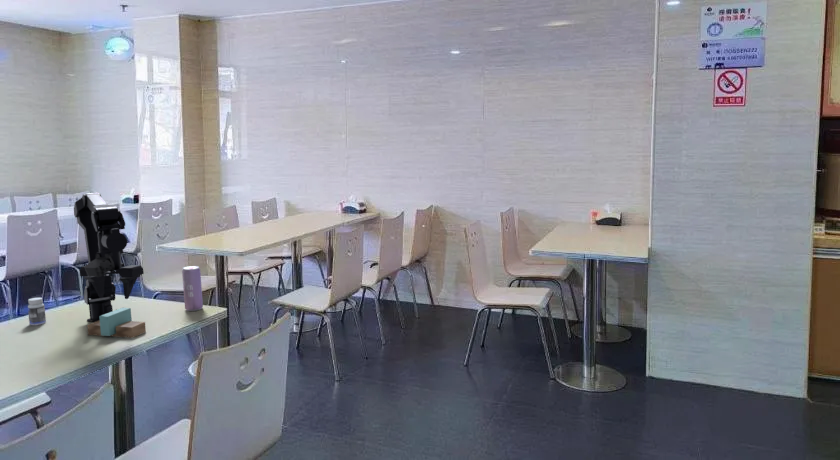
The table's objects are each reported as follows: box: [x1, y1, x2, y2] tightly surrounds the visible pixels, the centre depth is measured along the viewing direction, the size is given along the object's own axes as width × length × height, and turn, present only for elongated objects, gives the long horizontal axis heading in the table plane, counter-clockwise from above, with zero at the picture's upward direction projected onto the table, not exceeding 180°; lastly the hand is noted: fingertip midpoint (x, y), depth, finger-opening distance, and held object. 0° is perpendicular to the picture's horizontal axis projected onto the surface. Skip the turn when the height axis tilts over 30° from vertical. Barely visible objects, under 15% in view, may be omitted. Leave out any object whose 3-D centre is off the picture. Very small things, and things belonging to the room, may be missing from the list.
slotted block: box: [86, 320, 146, 339], centre depth 196 cm, size 16×6×3 cm, turn 76°
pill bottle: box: [27, 297, 47, 326], centre depth 209 cm, size 5×5×8 cm
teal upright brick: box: [99, 307, 133, 337], centre depth 196 cm, size 3×10×6 cm, turn 165°
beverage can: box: [181, 265, 204, 312], centre depth 222 cm, size 6×6×15 cm
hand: (114, 298), depth 195 cm, fingers open, 9 cm apart
